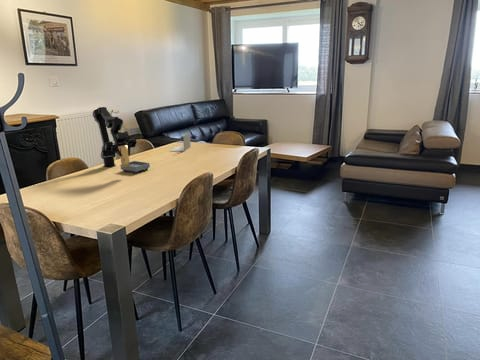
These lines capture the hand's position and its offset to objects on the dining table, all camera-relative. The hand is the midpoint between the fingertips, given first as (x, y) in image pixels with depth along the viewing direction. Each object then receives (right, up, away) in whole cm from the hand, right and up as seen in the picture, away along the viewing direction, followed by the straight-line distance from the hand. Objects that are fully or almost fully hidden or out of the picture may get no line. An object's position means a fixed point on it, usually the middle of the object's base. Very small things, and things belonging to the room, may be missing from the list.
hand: (125, 155), depth 220 cm
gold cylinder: (-1, -6, +3) cm, 7 cm away
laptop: (+20, +11, +83) cm, 86 cm away
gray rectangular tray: (+1, -9, +19) cm, 20 cm away
